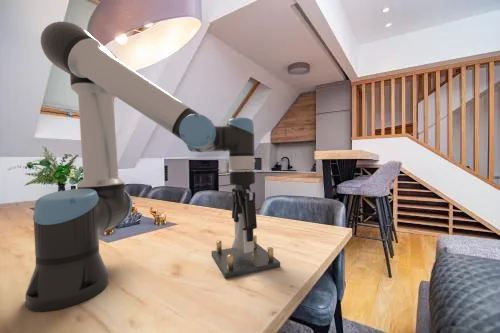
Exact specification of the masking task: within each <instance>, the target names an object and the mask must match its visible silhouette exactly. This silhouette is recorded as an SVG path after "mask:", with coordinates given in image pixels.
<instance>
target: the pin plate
mask: <svg viewBox="0 0 500 333" xmlns="http://www.w3.org/2000/svg"><path fill="white" fill-rule="evenodd" d="M253 238H254V244H255V247H256V248H254V252H248V253H244V251H237V250H233V249H232V247H230V248H223V249H222V246H223V243H222V242H223V241H222V240H220V239H219V240H216V250H211V257H212V259H213V261H214V263H215V264H216V266H217V267H218V269H219V271H220V272H221V274H222V276H223V278H224V279H225V280H227V279H231V278H235V277H241V276H247V275H250V274H255V273H261V272H265V271H269V270H274V269H280V268H281V261H280V260H278V259H277V258H276V257H275V256H274V247H267V249H265V248H263V247H262V246H261V245H260V244H258V243H257V241H258V239H257V235H254V234H253Z"/></svg>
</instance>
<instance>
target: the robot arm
mask: <svg viewBox="0 0 500 333" xmlns="http://www.w3.org/2000/svg"><path fill="white" fill-rule="evenodd" d="M40 45H41V49H42V51H43V54H44V56H45V57H46V58H47V59H48V60H49V61H50V63H52V64H53V65H54V66H55V67H57V68H59V69H61V70H62V71H63V72H65V73H67V74H69V78H70V89H71V90H72V91H73V92H74V93H75V94H77V98H78V113H79V128H80V130H79V133H80V143H81V144H80V145H81V159H82V174H83V175H82V177H83V179H82V180H81V182H80V183H79V184H78V185H77V186H76V187H77V188H73V189H67V190H60V191H59V190H58V191H54V192H51V193H47V194H45V195H43V196H40V197H39V198H38V199H37V200H36V201H35V203H34V209H33V210H34V211H33V212H34V213H33V215H32V219H33V220H32V221H33V226H34V227H33V228H34V230H33V231H34V248H35V249H34V251H35V252H34V253H35V267H34V270H33V272H32V275H31V278H30V281H29V284H28V286H27V289H26V292H25V297H24V298H25V299H24V300H25V307H26V309H28V310H30V311H34V312H50V311H56V310H61V309H64V308H68V307H72V306H74V305H77V304H80V303H83V302H85V301H88V300H90V299H91V298H93V297H95V296H96V295H98V294H100V293H101V292H102V291H103V290H105V289H106V287H107V286H108V284H109V272H108V270H107V267H106V265H105V263H104V260H103V258H102V256H101V253H100V243H99V242H100V238H99V237H100V236H99V235H100V234H103V233H104V232H107V231H109V230H110V229H113V228H116V227H118V226H119V225H121V224H122V223H123V222H125V220H127V219H128V218H129V216H130V214H131V212H132V209H133V200H132V197H131V195H130V193H128V192H127V190H126V188H125V181H123V180H122V179H121V178H120V177H119V166H118V151H117V150H118V149H117V137H116V136H117V135H116V133H117V131H116V118H115V104H114V103H115V102H114V98H118V99H119V100H121V101H122V102H124V103H125V104H126V105H128V106H129V107H131V108H133V109H135V110H136V111H137V112H139V113H140V114H141V115H143V116H145V117H147V118H149V120H152V121H153V122H154V123H156V124H157V125H158V126H160V127H161V128H163V129H165V130H166V131H168V132H169V133H171V134H173V135H174V136H175V137H176V138H178V139H180V140H181V141H183V143H184V144H186V147H187V149H188V150H189V151H190V152H193V153H194V152H195V153H196V152H197V153H204V152H205V153H206V152H229V154H228V161H229V162H228V167H229V170H230V172H229V184H230V185H233V186H235V188H232V189H231V194H232V197H231V198H232V202H231V203H232V204H231V205H232V206H231V207H232V208H231V218H232V219H233V222H234V237H235V236H236V232H237V229H238V224H239V217H238V214H242V213H243V219H244V226H245V228H243V232H244V253H248V252H254V238H253V235H254V230H255V229H257V227H258V225H257V224H258V223H257V212H256V192H255V191H253V192H252V191H251V187H250V186H251V185H254V184H255V183H256V172H255V171H254V170H255V163H256V159H255V131H254V130H255V129H254V122H253V120H252V119H251V118H249V117H243V116H241V117H232V118H230V119H229V120H228V122H227V123H228V124H227V125H215V124H214V122H213V121H212V120H211V119H210V118H208V117H207V116H205V114H201V113H199V112H197V111H195V110H194V109H192V108H191V107H190V106H188V105H186V104H185V103H184V102H182V101H181V100H180V99H178V98H176V97H175V96H173V95H172V94H170V93H169V92H167V91H166V90H164V89H162V88H161V87H160V86H158V85H156V84H155V83H153V82H152V81H150V80H149V79H148V78H146V77H144V76H143V75H141V74H140V73H138V72H137V71H135V70H134V69H133V68H131V67H129V66H128V65H126V64H125V63H124V62H122V61H120V59H118V57H117V56H116V54H114V53H113V52H112V51H111V50H110V49H109V48H107V47H105V46H104V45H103V44H102V43H101V42H99V40H97V39H96V38H95V37H94V36H92V35H91V33H89V32H88V31H87V30H85V29H84V28H82V27H81V26H79V25H77V24H75V23H72V22H68V21H56V22H52V23H50V24H48V25H47V26H46V27H45V28H43V30H42V32H41V36H40Z"/></svg>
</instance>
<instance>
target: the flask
mask: <svg viewBox="0 0 500 333" xmlns="http://www.w3.org/2000/svg"><path fill="white" fill-rule="evenodd" d="M238 217H239V224H238V229H237V232H236V236H235V235H234V239H233V243H232V247H231V248H232V249H233V250H237V251H244V232H243V228H245V226H244V219H243V213H242V214H238ZM254 248H256V247H255V244H254Z"/></svg>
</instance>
